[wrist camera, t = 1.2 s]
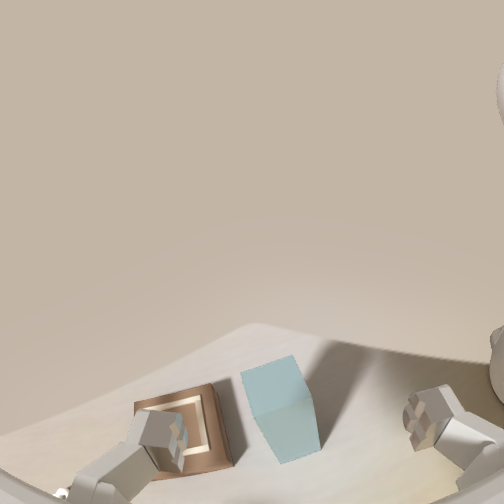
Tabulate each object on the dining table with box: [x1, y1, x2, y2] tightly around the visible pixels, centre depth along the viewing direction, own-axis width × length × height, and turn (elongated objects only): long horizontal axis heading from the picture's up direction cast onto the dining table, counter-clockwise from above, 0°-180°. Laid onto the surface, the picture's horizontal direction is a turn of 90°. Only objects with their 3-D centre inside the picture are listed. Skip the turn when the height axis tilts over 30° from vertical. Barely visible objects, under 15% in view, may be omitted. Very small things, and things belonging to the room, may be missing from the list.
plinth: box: [134, 383, 234, 481], centre depth 33 cm, size 12×12×3 cm
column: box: [241, 355, 321, 464], centre depth 27 cm, size 5×5×14 cm
